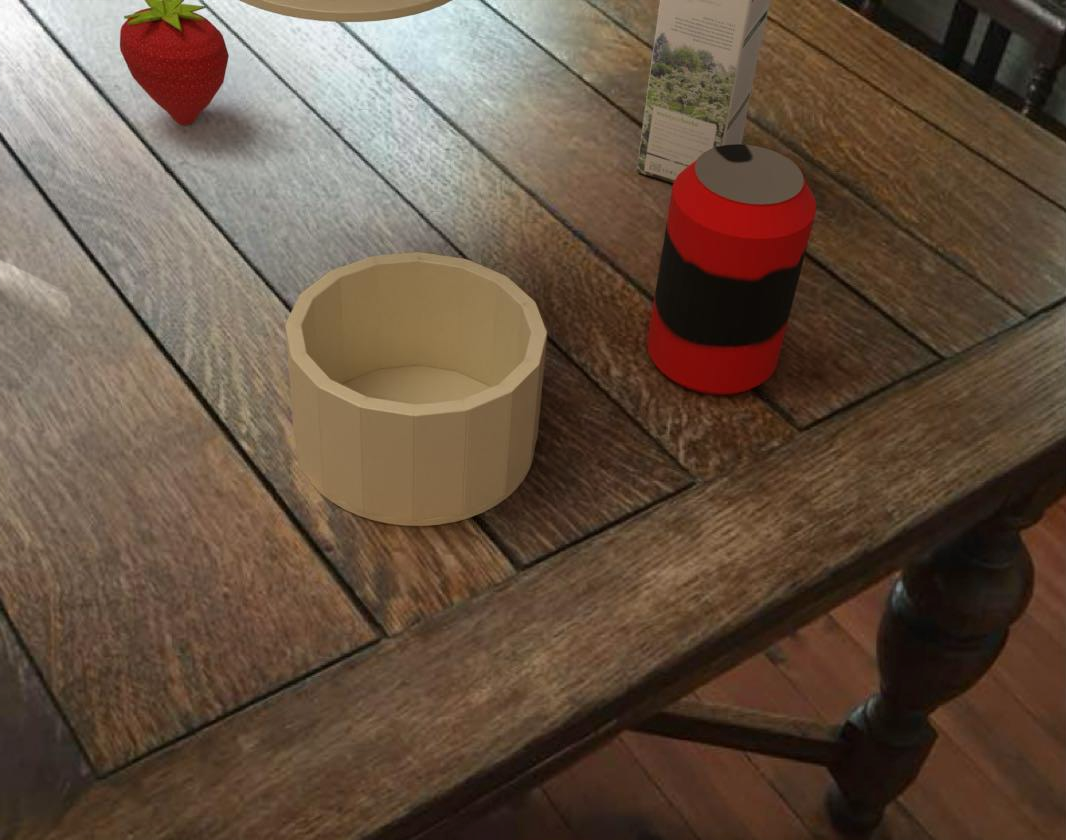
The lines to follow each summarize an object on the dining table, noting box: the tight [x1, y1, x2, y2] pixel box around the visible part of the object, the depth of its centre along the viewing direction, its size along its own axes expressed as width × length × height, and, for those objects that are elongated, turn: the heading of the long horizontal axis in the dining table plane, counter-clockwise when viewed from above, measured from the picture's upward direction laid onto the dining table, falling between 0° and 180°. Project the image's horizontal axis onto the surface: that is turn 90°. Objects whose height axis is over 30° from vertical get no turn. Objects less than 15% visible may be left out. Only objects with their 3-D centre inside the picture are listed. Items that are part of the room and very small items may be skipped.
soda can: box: [646, 143, 817, 396], centre depth 74 cm, size 8×8×12 cm
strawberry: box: [119, 0, 229, 126], centre depth 88 cm, size 6×8×10 cm
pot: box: [284, 251, 548, 527], centre depth 69 cm, size 13×13×8 cm
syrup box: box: [636, 0, 772, 184], centre depth 87 cm, size 6×6×14 cm
